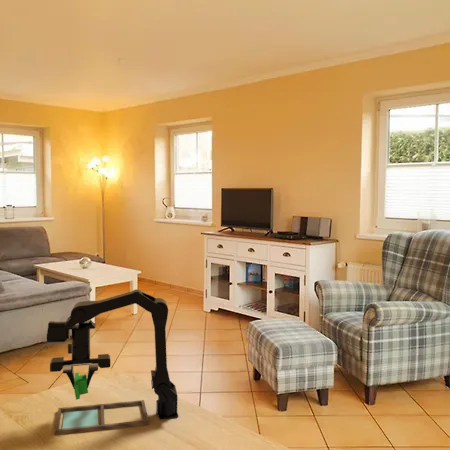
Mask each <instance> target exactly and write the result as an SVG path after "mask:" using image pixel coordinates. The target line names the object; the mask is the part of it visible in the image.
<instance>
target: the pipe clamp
mask: <svg viewBox="0 0 450 450" xmlns="http://www.w3.org/2000/svg"><path fill="white" fill-rule="evenodd" d="M87 376H88V374H82V375H81V374H79V372H74V378H75V380H74V388H73V390H74V395H75V400H80V398H81V395H85V394H89V389H88V388H89V387H88V388H87Z"/></svg>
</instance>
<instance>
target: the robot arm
mask: <svg viewBox="0 0 450 450" xmlns="http://www.w3.org/2000/svg"><path fill="white" fill-rule="evenodd" d="M135 304H136V305H138V306H139V307H141V308H142V309H143V310H145V311H147V312H149V313H150V314H151V318H152V324H153V327H154V350H155V351H154V353H155V354H154V355H155V366H154V367H155V368H154V369H153V370H152V369H151V370H150V374H151V375H150V376H151V380H150V382H151V383H150V384H151V389H152V390H154V394H155V395H157V400H156V401H155V402H156V404H155V405H156V406H155V411H156V415H157V416H158V419H159V420H162V419H165V420H166V419H173V418H179V413H178V399H179V398H178V392H177V388H176V384H174V383H173V382H172V381H171V379H170V374H169V371H168V365H167V363H168V360H167V359H168V357H167V338H166V337H167V336H166V335H167V334H166V326H167V322H168V315H169V307H168V304H167V301H166V300H164V298H161V297H155V296H153V295H150V294H148V293H146V292H144V291H142V290H140V289H138V288H137V289H133V290H132V291H128V292H125V293H120V294H117V295H114V296H111V297H107V298H104V299H100V300H85V301H84V300H83V301H78V302H77V303H75V304H74V306H73V307H72V309H71V311H70V316H69V317H67V319H66V321H54V320H51V321H49V322H48V324H47V325H48V326H47V331H46V332H47V333H46V344H57V343H59V344H60V343H62V344H63V343H67V341H68V340H70V338H71V343H68V344H67V354H68V355H70V354H71V359H70V360H69V359H68V360H65V357H64V356H60V357H59V356H58V357H52V358H51V359H50V361H49V363H50V364H49V372H50V373H53V372H61V371H62V374H66V376H67V377H68V379H69V380H70V383H71V386H72V387H73V389H74V380H75V372H74V367H79V366H88V372H87V388H89V387H90V383H91V380H92V378H93V376H94V374H95V372H97V371H99V368H100V369H105V368H106V369H107V368H108V369H109V368H110V367H111V355H110V354H109V353H104V354H102V353H101V354H97V358H91V330H92V329H93V330H95V329H96V327H97V326H96V325H97V324H96V323H95V322H94V321H93V320H92V319H94V318H95V317H97V316H99V315H101V314H103V313H108V312H111V311H113V310H117V309H120V308H124V307H127V306H131V305H135Z"/></svg>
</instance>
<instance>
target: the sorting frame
mask: <svg viewBox="0 0 450 450" xmlns="http://www.w3.org/2000/svg"><path fill="white" fill-rule="evenodd" d="M131 406H132V407H133V406H141V410H142V415H143V420H135V421H134V420H133V421H132V420H131V421H124V422H115V423H106V422H105V409H113V408H123V407H124V408H125V407H131ZM99 410H100V424H99V413H98V412H99ZM62 413H63V420H62V427H61V428H60V425H61V416H62ZM148 416H149V415H148V411H147V408H146V403H145V400H144V399H142V400H140V399H139V400H132V401H131V400H130V401H119V402H110V403H99V404H98V403H97V404H89V405H87V404H86V405H78V406H76V405H75V406H69V407H68V406H65V407H64V406H63V407H58V408H57V416H56V422H55V427H54V435H65V434H74V433H83V432H84V433H85V432H94V431H103V430H111V429H112V430H113V429H122V428H130V427H140V426H149V425H150V420H149V417H148Z"/></svg>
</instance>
